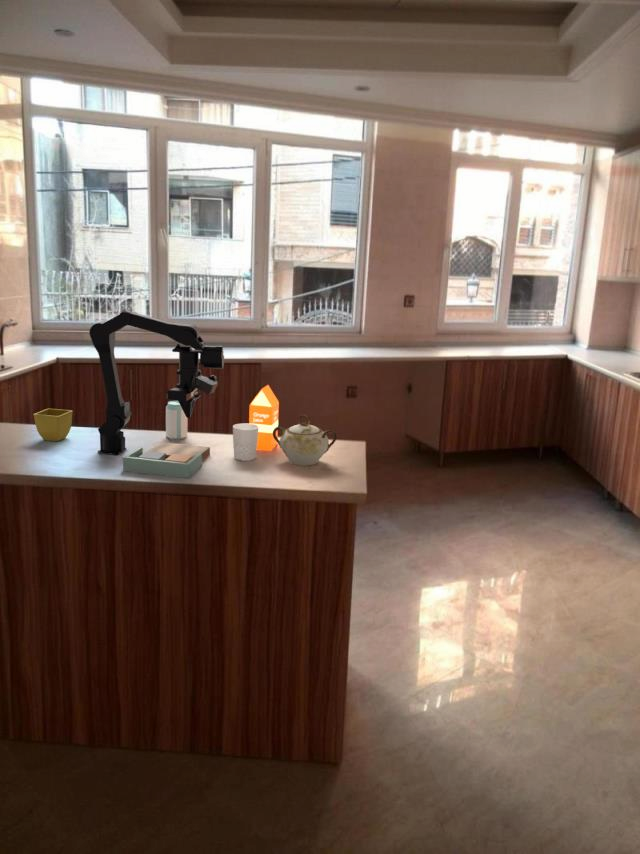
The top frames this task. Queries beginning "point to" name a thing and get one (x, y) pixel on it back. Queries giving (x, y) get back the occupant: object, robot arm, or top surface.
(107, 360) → the robot arm
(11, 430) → the top surface
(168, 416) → the can
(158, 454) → the slate tile
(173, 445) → the walnut board
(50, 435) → the flower pot
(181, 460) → the terracotta tile
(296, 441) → the sugar bowl
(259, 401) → the orange juice
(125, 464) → the box
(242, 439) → the white cup
